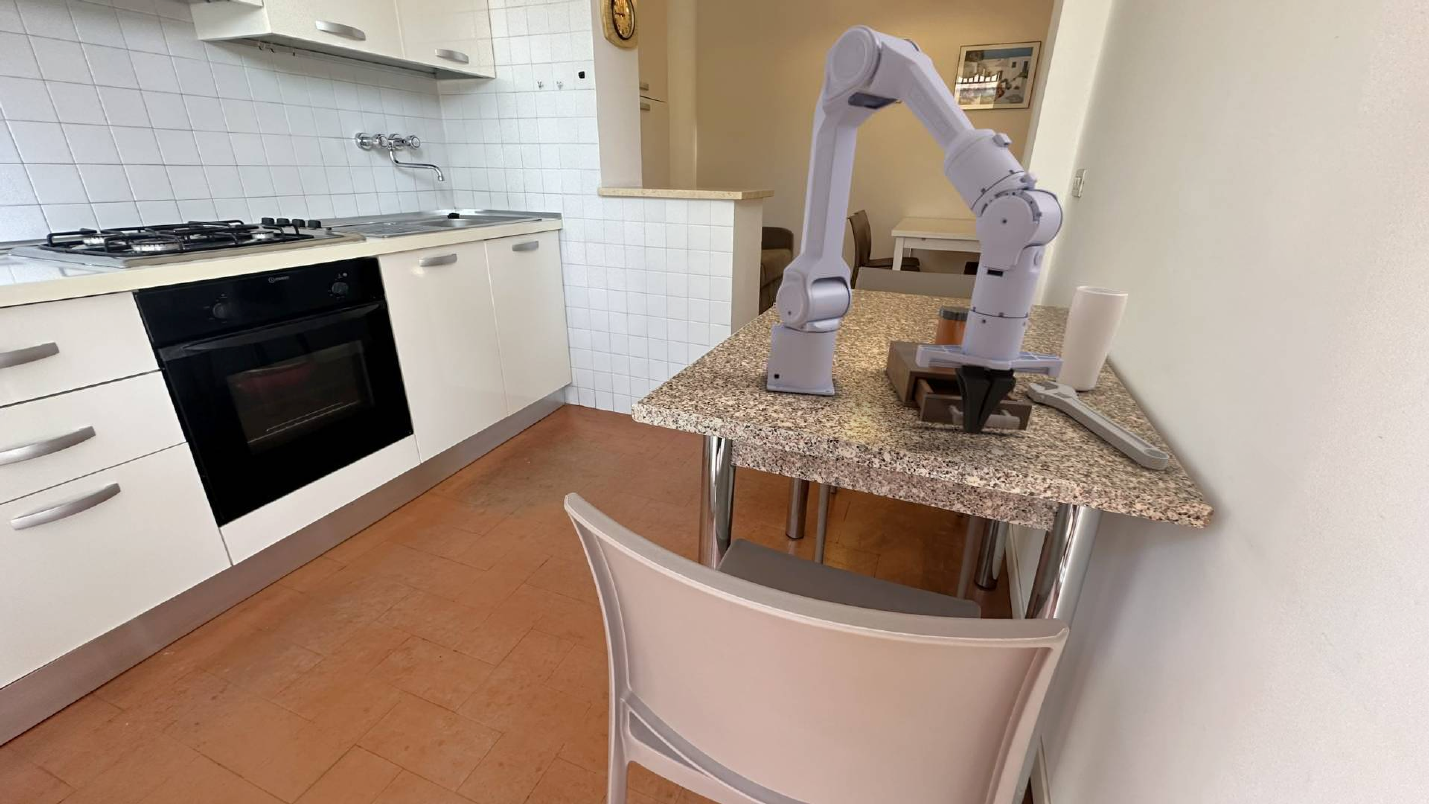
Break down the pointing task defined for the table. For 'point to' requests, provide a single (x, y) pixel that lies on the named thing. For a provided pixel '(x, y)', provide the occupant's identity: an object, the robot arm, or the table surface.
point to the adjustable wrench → (1099, 424)
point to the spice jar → (951, 325)
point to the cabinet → (911, 370)
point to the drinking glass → (1090, 334)
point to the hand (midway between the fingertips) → (971, 430)
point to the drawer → (946, 406)
